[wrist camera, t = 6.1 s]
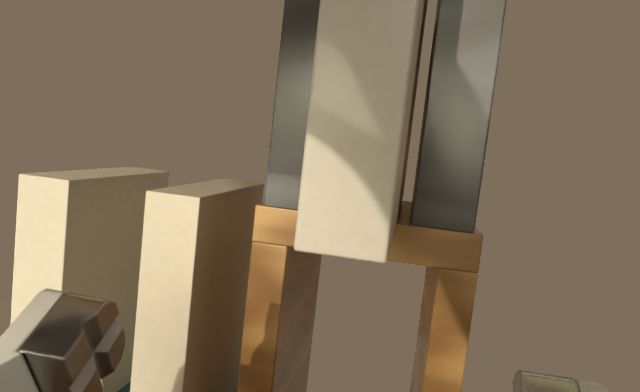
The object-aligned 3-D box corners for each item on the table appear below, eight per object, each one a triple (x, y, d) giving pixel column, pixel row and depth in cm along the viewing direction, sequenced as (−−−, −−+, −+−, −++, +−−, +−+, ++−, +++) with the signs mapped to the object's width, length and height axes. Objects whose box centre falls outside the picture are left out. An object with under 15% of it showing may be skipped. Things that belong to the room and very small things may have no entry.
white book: (292, 251, 14) (351, -296, 13) (361, 193, 33) (388, -35, 32) (385, 264, 14) (456, -297, 13) (402, 199, 33) (431, -32, 31)
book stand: (198, 775, 25) (289, -132, 22) (258, 601, 35) (328, -44, 31) (398, 835, 24) (534, -124, 20) (403, 636, 34) (495, -34, 30)
